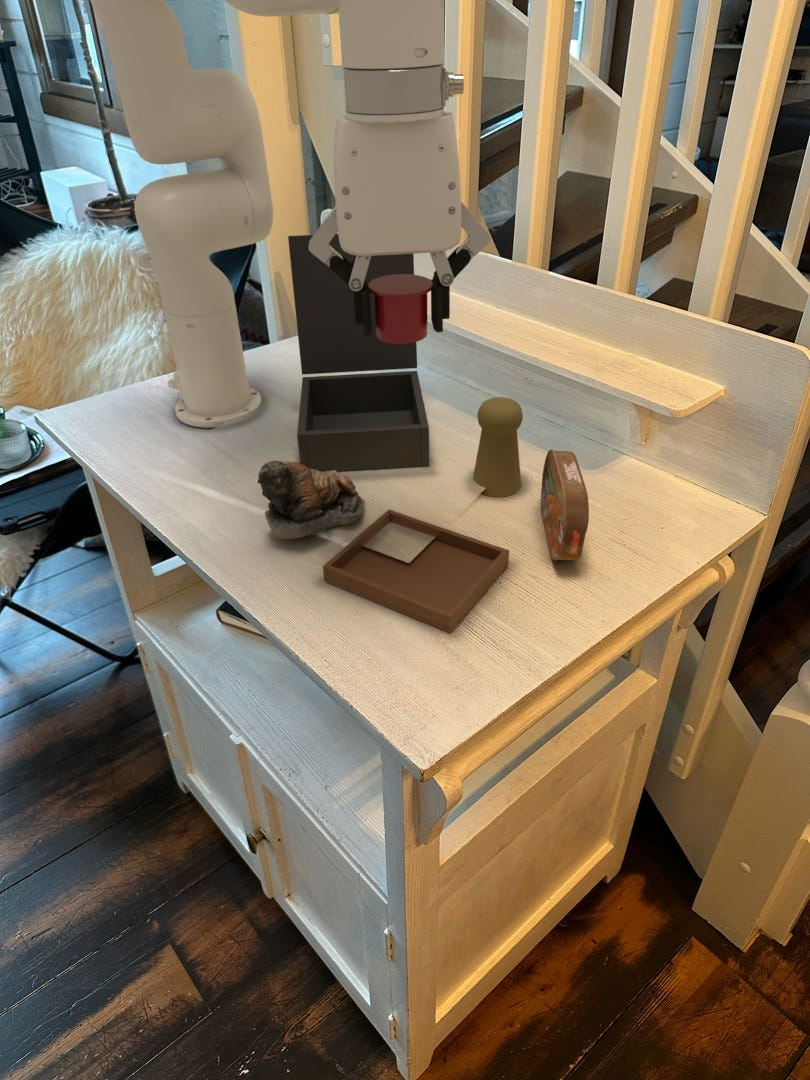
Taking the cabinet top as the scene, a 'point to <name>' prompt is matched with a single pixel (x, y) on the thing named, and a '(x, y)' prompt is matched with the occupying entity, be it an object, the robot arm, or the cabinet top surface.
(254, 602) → the cabinet top surface
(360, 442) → the pod bay
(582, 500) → the tin
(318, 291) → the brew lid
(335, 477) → the bison figurine
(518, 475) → the olive pawn piece
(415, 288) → the coffee pod
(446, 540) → the tray
